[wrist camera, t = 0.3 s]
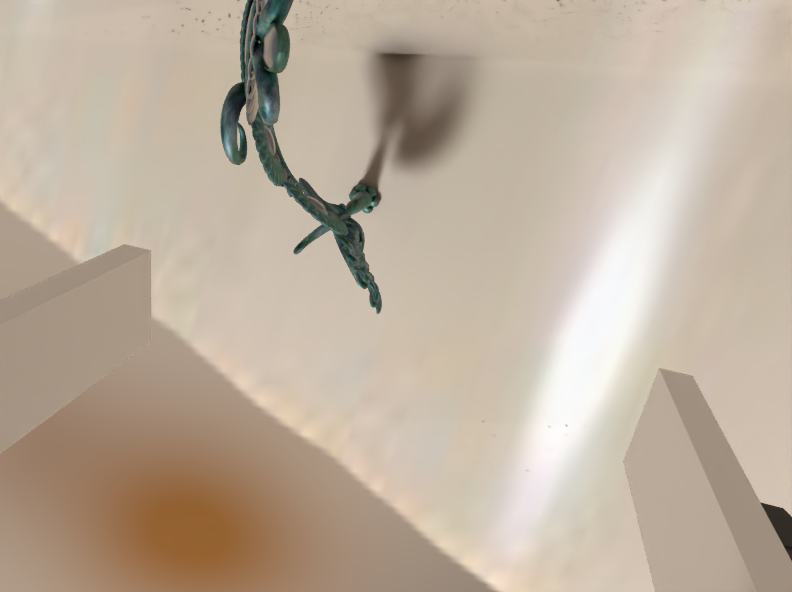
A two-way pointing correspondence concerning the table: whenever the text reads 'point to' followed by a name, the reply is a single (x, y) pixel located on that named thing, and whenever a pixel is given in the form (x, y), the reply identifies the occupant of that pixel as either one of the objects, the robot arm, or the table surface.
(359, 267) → the decorative creature
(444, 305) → the table surface
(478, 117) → the table surface
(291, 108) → the table surface
